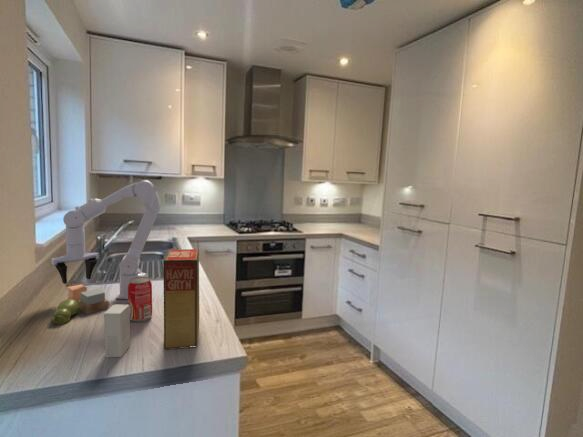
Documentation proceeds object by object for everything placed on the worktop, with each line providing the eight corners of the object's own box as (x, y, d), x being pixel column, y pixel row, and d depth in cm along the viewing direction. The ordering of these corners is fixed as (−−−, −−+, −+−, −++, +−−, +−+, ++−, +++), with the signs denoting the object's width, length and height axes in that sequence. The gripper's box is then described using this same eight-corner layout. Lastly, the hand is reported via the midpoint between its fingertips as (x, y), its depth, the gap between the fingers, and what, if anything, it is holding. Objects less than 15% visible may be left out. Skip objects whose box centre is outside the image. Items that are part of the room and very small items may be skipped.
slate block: (97, 296, 121) (97, 288, 121) (104, 300, 118) (104, 292, 117) (80, 301, 117) (80, 292, 116) (87, 305, 113) (87, 296, 113)
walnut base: (99, 303, 123) (99, 295, 122) (108, 309, 118) (108, 300, 118) (78, 309, 117) (77, 300, 117) (86, 315, 113) (86, 306, 112)
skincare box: (114, 345, 94) (113, 303, 92) (130, 345, 94) (130, 304, 93) (104, 357, 88) (103, 313, 86) (121, 357, 88) (120, 313, 87)
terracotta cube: (82, 296, 128) (81, 284, 127) (86, 299, 125) (86, 287, 124) (68, 299, 124) (67, 287, 124) (72, 302, 121) (72, 290, 121)
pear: (81, 296, 113) (66, 313, 104) (82, 310, 115) (68, 328, 105) (62, 296, 112) (46, 313, 103) (64, 310, 114) (48, 328, 104)
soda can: (156, 315, 114) (156, 278, 112) (140, 324, 107) (140, 284, 105) (139, 312, 116) (139, 274, 114) (123, 320, 109) (122, 280, 108)
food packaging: (168, 327, 106) (168, 248, 103) (199, 326, 108) (201, 248, 105) (162, 349, 93) (162, 260, 90) (198, 347, 95) (199, 259, 92)
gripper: (93, 239, 130) (93, 274, 132) (47, 244, 119) (49, 282, 121) (101, 242, 126) (101, 278, 127) (54, 248, 114) (56, 287, 116)
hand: (76, 280), depth 124 cm, fingers open, 7 cm apart
